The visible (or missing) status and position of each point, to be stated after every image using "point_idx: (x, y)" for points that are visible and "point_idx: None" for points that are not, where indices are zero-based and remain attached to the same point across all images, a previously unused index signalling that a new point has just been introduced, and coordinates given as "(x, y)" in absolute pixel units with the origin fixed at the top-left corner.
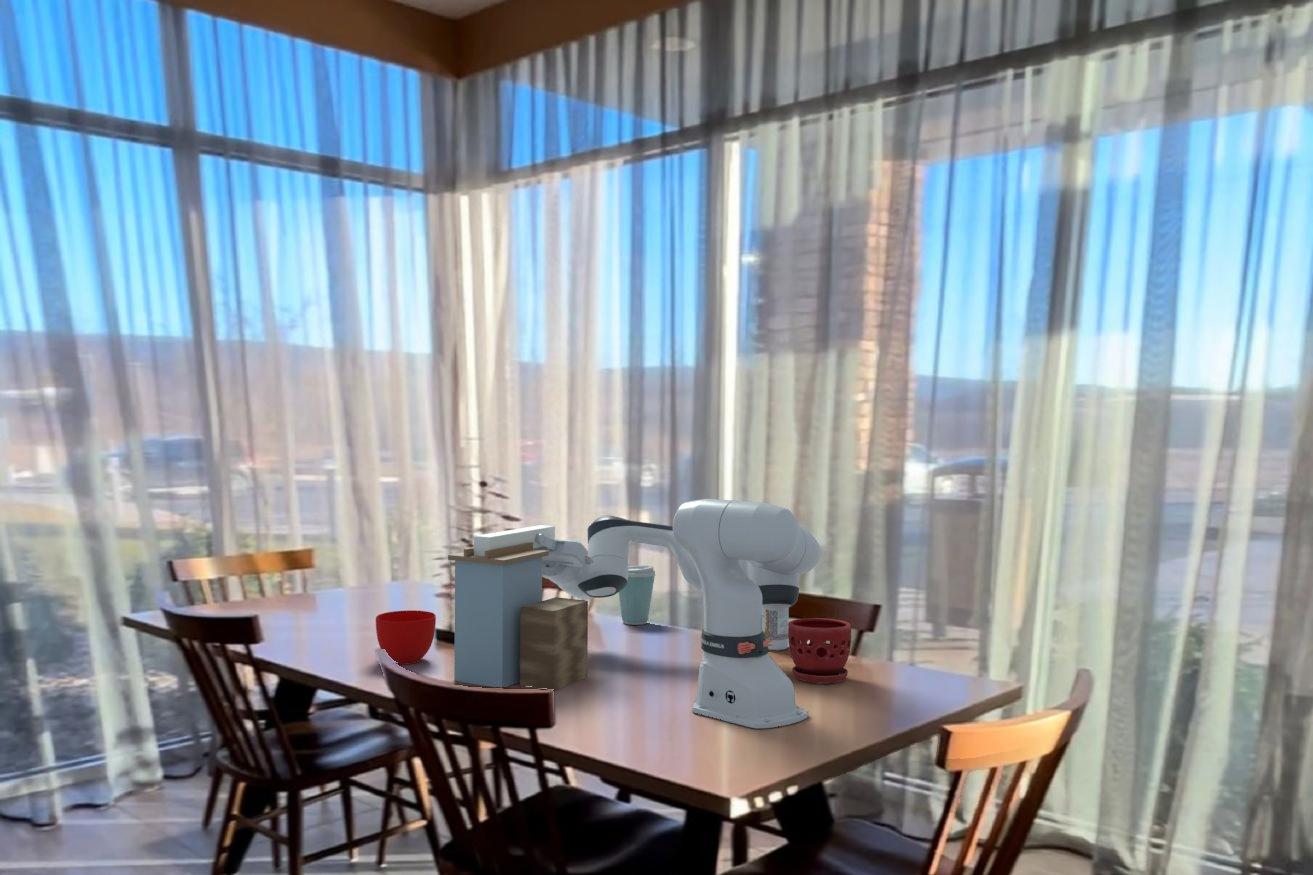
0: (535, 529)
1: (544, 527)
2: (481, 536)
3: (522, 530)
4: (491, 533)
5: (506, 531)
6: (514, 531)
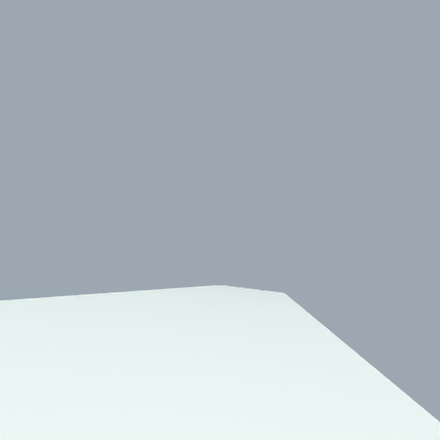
0: (123, 292)
1: (14, 310)
2: (255, 289)
3: (205, 295)
4: (280, 295)
5: (268, 298)
6: (228, 294)
